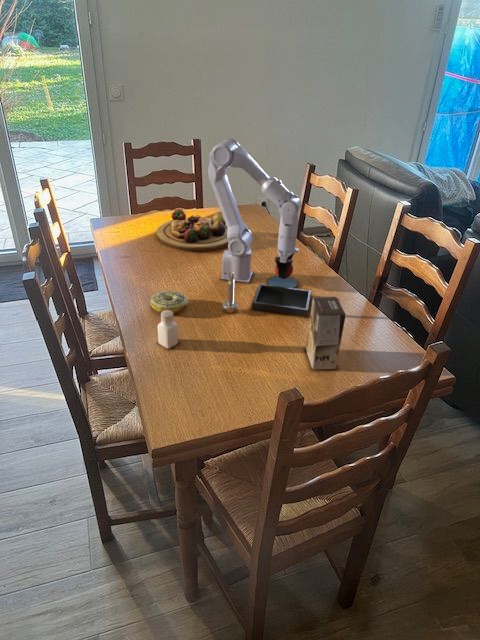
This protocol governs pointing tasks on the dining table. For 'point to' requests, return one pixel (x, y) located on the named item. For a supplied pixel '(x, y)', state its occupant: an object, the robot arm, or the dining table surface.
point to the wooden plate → (194, 232)
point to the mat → (282, 282)
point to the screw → (230, 296)
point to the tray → (282, 300)
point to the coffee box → (325, 332)
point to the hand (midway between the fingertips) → (283, 273)
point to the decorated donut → (168, 301)
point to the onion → (288, 271)
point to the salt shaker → (167, 330)
